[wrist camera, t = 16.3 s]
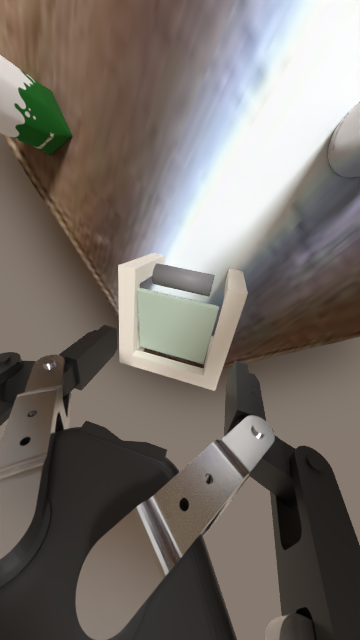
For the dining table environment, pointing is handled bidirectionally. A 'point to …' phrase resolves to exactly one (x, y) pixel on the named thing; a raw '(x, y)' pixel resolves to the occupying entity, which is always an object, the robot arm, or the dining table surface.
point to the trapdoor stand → (134, 356)
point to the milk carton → (30, 110)
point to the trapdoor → (177, 314)
